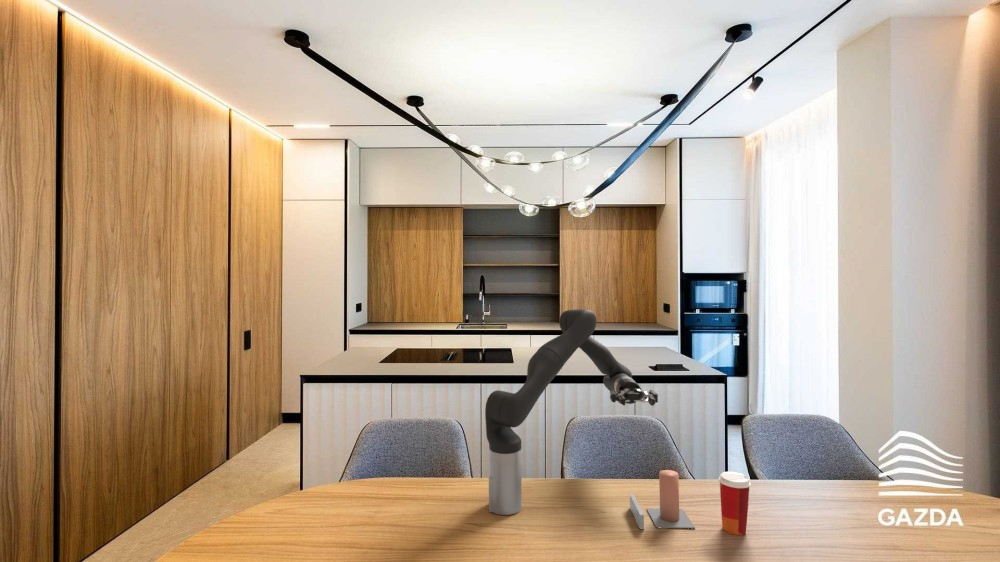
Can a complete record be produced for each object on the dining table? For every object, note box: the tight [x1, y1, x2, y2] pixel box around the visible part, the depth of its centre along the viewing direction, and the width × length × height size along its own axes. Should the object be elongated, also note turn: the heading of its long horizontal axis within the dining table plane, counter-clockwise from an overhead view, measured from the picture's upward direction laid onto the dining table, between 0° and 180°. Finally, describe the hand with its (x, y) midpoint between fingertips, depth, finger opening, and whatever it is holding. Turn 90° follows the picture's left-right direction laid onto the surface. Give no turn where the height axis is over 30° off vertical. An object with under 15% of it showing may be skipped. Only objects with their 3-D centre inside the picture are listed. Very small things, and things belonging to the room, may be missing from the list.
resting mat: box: [646, 508, 696, 530], centre depth 136 cm, size 10×10×1 cm
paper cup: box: [717, 471, 752, 536], centre depth 130 cm, size 8×8×14 cm
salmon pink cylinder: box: [658, 469, 680, 522], centre depth 136 cm, size 5×5×12 cm
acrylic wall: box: [629, 493, 645, 530], centre depth 136 cm, size 1×12×4 cm, turn 178°
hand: (638, 402), depth 151 cm, fingers open, 8 cm apart
